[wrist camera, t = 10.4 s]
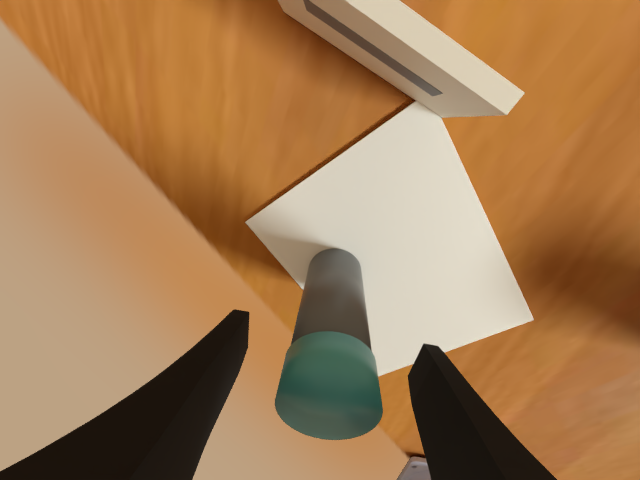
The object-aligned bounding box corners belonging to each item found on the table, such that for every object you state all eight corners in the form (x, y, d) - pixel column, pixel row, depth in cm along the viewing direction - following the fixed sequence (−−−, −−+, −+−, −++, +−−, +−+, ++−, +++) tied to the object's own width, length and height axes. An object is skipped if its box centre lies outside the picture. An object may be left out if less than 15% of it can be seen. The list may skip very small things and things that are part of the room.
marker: (356, 298, 16) (367, 446, 9) (303, 289, 16) (271, 429, 9) (368, 252, 14) (396, 385, 7) (310, 242, 14) (279, 364, 7)
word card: (440, 118, 11) (506, 115, 7) (283, 12, 10) (236, -76, 6) (450, 103, 11) (525, 92, 7) (290, -7, 10) (247, -114, 5)
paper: (531, 317, 16) (534, 319, 15) (376, 374, 19) (377, 376, 19) (427, 92, 11) (429, 91, 11) (246, 220, 14) (245, 222, 14)
